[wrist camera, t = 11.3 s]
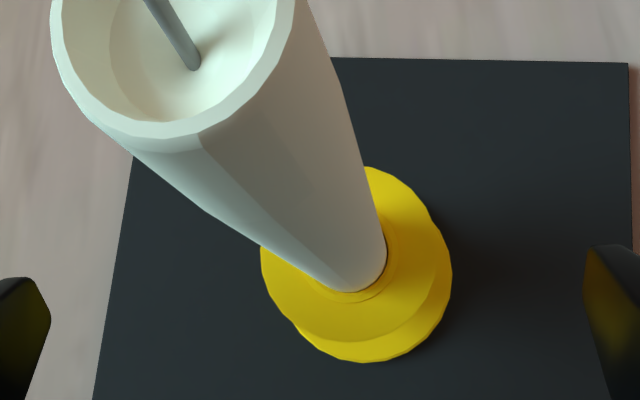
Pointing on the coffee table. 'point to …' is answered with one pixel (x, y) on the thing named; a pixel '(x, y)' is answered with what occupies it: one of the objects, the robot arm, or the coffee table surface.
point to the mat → (445, 212)
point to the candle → (263, 157)
